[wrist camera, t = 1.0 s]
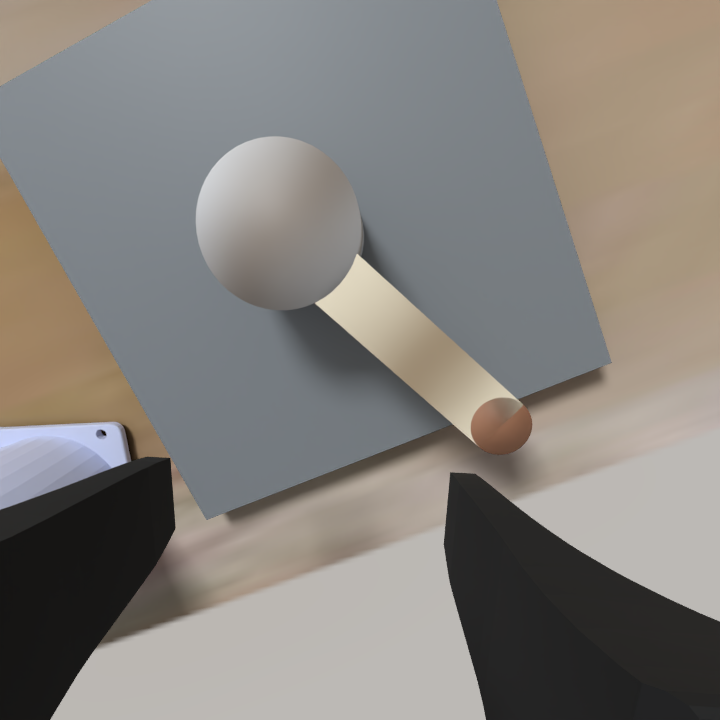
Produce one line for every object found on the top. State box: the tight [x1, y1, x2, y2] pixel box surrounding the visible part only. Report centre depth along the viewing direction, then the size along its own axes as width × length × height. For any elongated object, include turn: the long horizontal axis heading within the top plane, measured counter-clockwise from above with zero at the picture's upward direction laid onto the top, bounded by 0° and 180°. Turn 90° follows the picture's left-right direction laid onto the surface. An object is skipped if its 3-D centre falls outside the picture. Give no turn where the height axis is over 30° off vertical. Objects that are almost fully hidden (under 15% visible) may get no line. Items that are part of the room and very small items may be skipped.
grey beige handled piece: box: [196, 136, 532, 455], centre depth 15 cm, size 13×5×4 cm, turn 49°
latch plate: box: [0, 0, 612, 520], centre depth 18 cm, size 20×20×2 cm
